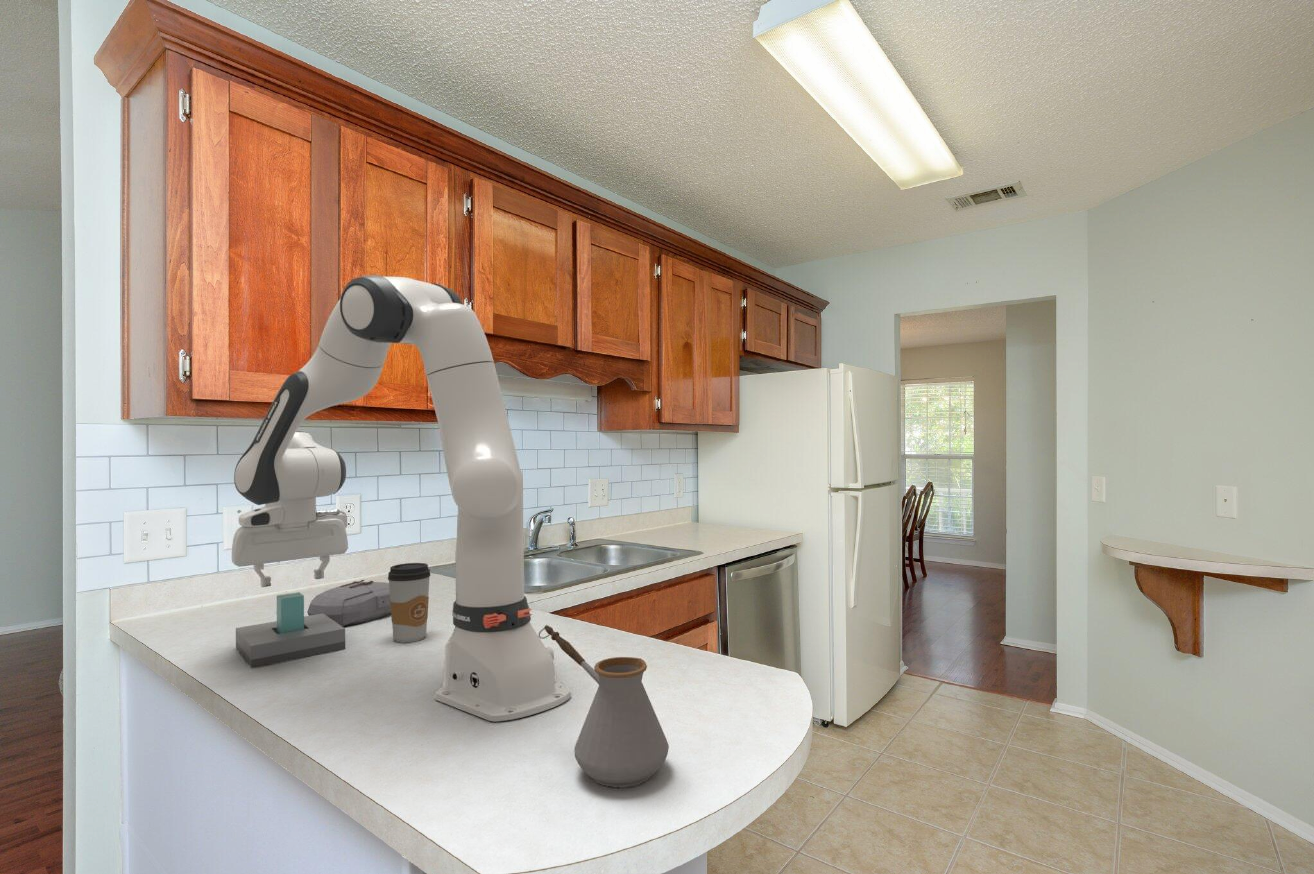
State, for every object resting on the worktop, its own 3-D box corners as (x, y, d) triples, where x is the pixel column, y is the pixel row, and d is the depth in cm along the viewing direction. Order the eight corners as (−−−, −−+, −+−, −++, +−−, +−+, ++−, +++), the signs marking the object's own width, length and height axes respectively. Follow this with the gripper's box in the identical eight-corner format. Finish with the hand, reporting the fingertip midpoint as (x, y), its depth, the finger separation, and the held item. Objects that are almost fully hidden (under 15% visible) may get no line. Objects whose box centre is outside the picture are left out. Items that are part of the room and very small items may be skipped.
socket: (345, 648, 128) (345, 628, 128) (251, 668, 117) (250, 646, 117) (323, 631, 140) (322, 613, 140) (235, 648, 129) (235, 628, 129)
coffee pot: (688, 769, 79) (687, 646, 79) (619, 809, 70) (617, 670, 70) (577, 719, 93) (576, 615, 93) (509, 747, 85) (508, 633, 85)
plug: (304, 640, 128) (303, 595, 128) (281, 645, 125) (281, 598, 126) (299, 636, 131) (299, 592, 131) (276, 640, 128) (276, 595, 129)
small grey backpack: (367, 605, 163) (291, 626, 145) (367, 572, 163) (291, 589, 145) (410, 612, 156) (336, 634, 138) (410, 577, 156) (335, 595, 138)
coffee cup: (402, 647, 128) (402, 571, 128) (380, 639, 133) (379, 567, 133) (439, 636, 135) (438, 565, 135) (416, 630, 140) (415, 561, 140)
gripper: (342, 507, 138) (344, 572, 138) (229, 517, 125) (230, 588, 125) (351, 509, 133) (353, 576, 133) (234, 519, 120) (236, 593, 120)
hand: (293, 582), depth 129 cm, fingers open, 8 cm apart
